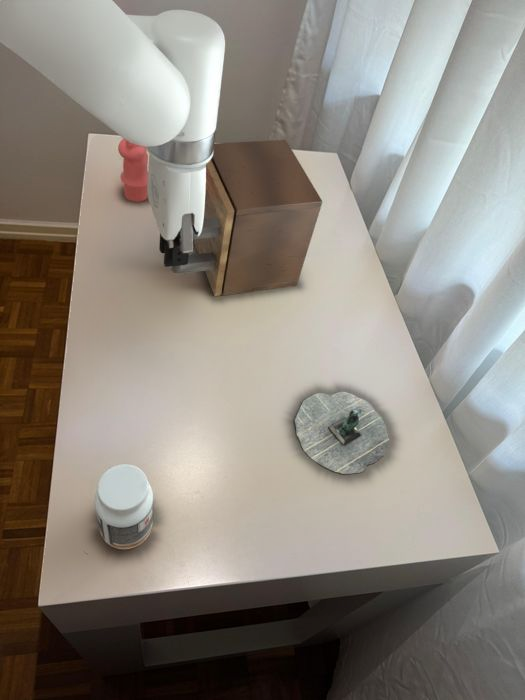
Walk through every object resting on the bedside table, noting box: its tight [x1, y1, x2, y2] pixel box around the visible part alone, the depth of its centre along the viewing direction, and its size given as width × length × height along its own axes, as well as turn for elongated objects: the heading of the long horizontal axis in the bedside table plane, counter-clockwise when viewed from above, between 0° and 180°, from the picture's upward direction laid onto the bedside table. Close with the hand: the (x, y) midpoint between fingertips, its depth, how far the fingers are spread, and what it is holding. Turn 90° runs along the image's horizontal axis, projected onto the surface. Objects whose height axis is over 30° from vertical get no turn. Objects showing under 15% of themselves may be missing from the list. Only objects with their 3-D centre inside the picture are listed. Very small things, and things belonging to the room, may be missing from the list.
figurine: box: [117, 138, 149, 203], centre depth 89 cm, size 5×5×15 cm
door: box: [171, 160, 234, 297], centre depth 81 cm, size 7×14×16 cm, turn 19°
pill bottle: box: [93, 463, 154, 550], centre depth 58 cm, size 6×6×10 cm
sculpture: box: [294, 391, 390, 475], centre depth 73 cm, size 12×9×8 cm
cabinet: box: [211, 139, 323, 297], centre depth 84 cm, size 12×14×16 cm
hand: (173, 257), depth 78 cm, fingers closed on door, 2 cm apart
